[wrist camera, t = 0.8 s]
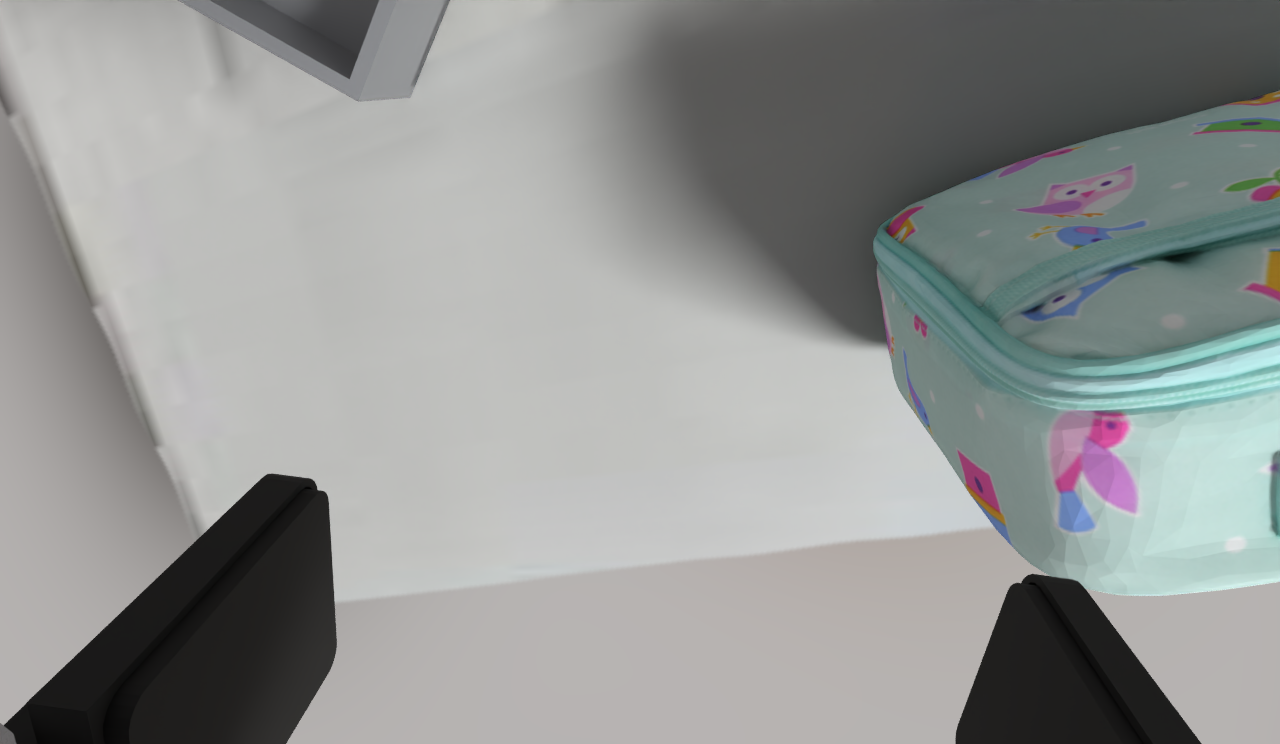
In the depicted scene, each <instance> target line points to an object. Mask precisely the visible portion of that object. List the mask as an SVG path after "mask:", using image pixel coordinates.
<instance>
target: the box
mask: <svg viewBox="0 0 1280 744" xmlns="http://www.w3.org/2000/svg"><path fill="white" fill-rule="evenodd" d="M178 1H180V2H182V3H184V4H185V5H187V6H189V7H191V8H193V9H194V10H196V11H198V12H200V13H202V14H203V15H205V16H207V17H209V18H210V19H212V20H214V21H216V22H218V23H219V24H221V25H223V26H225V27H226V28H228V29H230V30H232V31H234V32H235V33H237V34H239V35H241V36H242V37H244V38H246V39H248V40H250V41H251V42H253V43H255V44H257V45H258V46H260V47H262V48H264V49H266V50H267V51H269V52H271V53H273V54H274V55H276V56H278V57H280V58H282V59H283V60H285V61H287V62H289V63H290V64H292V65H294V66H296V67H298V68H299V69H301V70H303V71H305V72H306V73H308V74H310V75H312V76H314V77H315V78H317V79H319V80H321V81H323V82H324V83H326V84H328V85H330V86H331V87H333V88H335V89H337V90H339V91H340V92H342V93H344V94H346V95H347V96H349V97H351V98H353V99H355V100H356V101H358V102H359V101H372V100H385V99H398V98H410V97H411V94H412V92H413V89H414V87H415V84H416V82H417V80H418V77H419V75H420V72H421V70H422V67H423V65H424V62H425V60H426V57H427V55H428V53H429V50H430V48H431V45H432V43H433V40H434V38H435V35H436V33H437V30H438V28H439V26H440V23H441V21H442V18H443V16H444V13H445V11H446V8H447V6H448V3H449V1H450V0H178Z"/></svg>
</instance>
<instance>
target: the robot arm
mask: <svg viewBox="0 0 1280 744" xmlns="http://www.w3.org/2000/svg"><path fill="white" fill-rule="evenodd" d="M336 647H337V639H336V623H335V604H334V587H333V570H332V552H331V535H330V518H329V501H328V496H327V494H326V493H325V492H324V491H318V490H317V486H316V484H315V482H314V481H313V480H312V479H309V478H302V477H294V476H286V475H279V474H267V475H266V476H264V477H263V478H262V479H261V480H259V481H258V482H257V483H256V484H255V485H254V486H253V487H252V488H251V489H250V490H249V491H248V492H247V493H246V494H245V495H244V496H243V497H242V498H241V499H240V500H239V501H237V502H236V503H235V504H234V505H233V506H232V507H231V508H230V509H229V510H228V511H227V512H226V513H225V514H224V515H223V516H222V517H221V518H220V519H219V520H218V521H217V522H215V523H214V524H213V525H212V526H211V527H210V528H209V529H208V530H207V531H206V532H205V533H204V534H203V535H202V536H201V537H200V538H199V539H198V540H197V541H196V542H194V544H192V545H191V546H190V547H189V548H188V549H187V550H186V551H185V552H184V553H183V554H182V555H181V556H180V557H179V558H178V559H177V560H176V561H175V562H174V563H173V564H171V565H170V566H169V567H168V568H167V569H166V570H165V571H164V572H163V573H162V574H161V575H160V576H159V577H158V578H157V579H156V580H155V581H154V582H153V583H152V584H150V585H149V586H148V587H147V588H146V589H145V590H144V591H143V592H142V593H141V594H140V595H139V596H138V597H137V598H136V599H135V600H134V601H133V602H132V603H131V604H130V605H129V606H127V607H126V608H125V609H124V610H123V611H122V612H121V613H120V614H119V615H118V616H117V617H116V618H115V619H114V620H113V621H112V622H111V623H110V624H109V625H108V626H106V627H105V628H104V629H103V630H102V631H101V632H100V633H99V634H98V635H97V636H96V637H95V638H94V639H93V640H92V641H91V642H90V643H89V644H88V645H87V646H86V647H85V648H84V649H82V650H81V651H80V652H79V653H78V654H77V655H76V656H75V657H74V658H73V659H72V660H71V661H70V662H69V663H68V664H67V665H66V666H65V667H63V669H61V670H60V671H59V672H58V673H57V674H56V675H55V676H54V677H53V678H52V679H51V680H50V681H49V682H48V683H47V684H46V685H45V686H44V687H43V688H41V690H39V691H38V692H37V693H36V694H35V695H34V696H33V697H32V698H31V699H30V700H29V701H28V702H27V703H26V704H25V705H24V707H22V708H21V709H20V710H19V711H18V712H17V713H16V714H15V715H14V716H13V717H12V718H11V719H10V720H9V721H8V722H7V723H6V724H5V725H4V726H3V725H2V724H1V723H0V744H286V743H287V741H288V739H289V738H290V736H291V734H292V733H293V731H294V729H295V728H296V726H297V724H298V723H299V721H300V720H301V718H302V716H303V715H304V713H305V711H306V710H307V708H308V706H309V704H310V703H311V701H312V700H313V698H314V696H315V695H316V693H317V691H318V690H319V688H320V686H321V685H322V683H323V681H324V680H325V678H326V676H327V674H328V673H329V671H330V669H331V667H332V664H333V661H334V658H335V654H336ZM956 744H1201V743H1200V741H1199V740H1198V738H1197V737H1196V736H1195V734H1194V733H1193V732H1192V730H1191V729H1190V728H1189V727H1188V725H1187V724H1186V723H1185V721H1184V720H1183V718H1182V717H1181V716H1180V715H1179V713H1178V712H1177V711H1176V709H1175V708H1174V707H1173V705H1172V704H1171V703H1170V701H1169V700H1168V699H1167V698H1166V696H1165V695H1164V693H1163V692H1162V691H1161V689H1160V688H1159V687H1158V685H1157V684H1156V683H1155V681H1154V680H1153V679H1152V677H1151V676H1150V675H1149V674H1148V672H1147V671H1146V669H1145V668H1144V667H1143V665H1142V664H1141V663H1140V661H1139V660H1138V659H1137V657H1136V656H1135V655H1134V653H1133V652H1132V651H1131V649H1130V648H1129V647H1128V645H1127V644H1126V643H1125V641H1124V640H1123V639H1122V637H1121V636H1120V635H1119V633H1118V632H1117V631H1116V629H1115V628H1114V627H1113V625H1112V624H1111V623H1110V621H1109V620H1108V619H1107V617H1106V616H1105V615H1104V613H1103V612H1102V611H1101V609H1100V608H1099V607H1098V605H1097V604H1096V603H1095V601H1094V600H1093V599H1092V597H1091V596H1090V595H1089V593H1088V592H1087V591H1086V589H1085V588H1084V587H1083V586H1082V585H1081V584H1080V583H1079V582H1078V581H1076V580H1073V579H1067V578H1059V577H1052V576H1044V575H1037V574H1031V575H1028V576H1026V577H1025V578H1024V579H1023V581H1022V583H1015V584H1013V585H1012V586H1011V587H1010V588H1009V590H1008V592H1007V594H1006V597H1005V600H1004V603H1003V605H1002V608H1001V611H1000V613H999V616H998V619H997V621H996V624H995V627H994V630H993V632H992V635H991V638H990V641H989V643H988V646H987V648H986V651H985V654H984V656H983V659H982V662H981V665H980V667H979V670H978V673H977V675H976V678H975V681H974V684H973V686H972V689H971V692H970V694H969V697H968V700H967V702H966V705H965V708H964V710H963V713H962V716H961V718H960V721H959V724H958V727H957V731H956Z"/></svg>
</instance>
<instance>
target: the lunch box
mask: <svg viewBox="0 0 1280 744" xmlns="http://www.w3.org/2000/svg"><path fill="white" fill-rule="evenodd" d="M873 246H874V247H873V252H874V255H875V258H876V260H877V261H878V264H877V280H878V287H879V291H880V295H881V301H882V309H883V317H884V323H885V330H886V337H887V344H888V349H889V354H890V358H891V362H892V369H893V374H894V378H895V381H896V384H897V386H898V389H899V391H900V392H901V394H902V396H903V397H904V399H905V400H906V402H907V403H908V405H909V406H910V407H911V409H912V410H913V411H914V413H915V414H916V416H917V417H918V418H919V420H920V421H921V423H922V424H923V426H924V427H925V428H926V430H927V431H928V433H929V434H930V435H931V437H932V438H933V440H934V441H935V442H936V444H937V445H938V446H939V448H940V449H941V451H942V452H943V454H944V455H945V457H946V458H947V460H948V461H949V463H950V464H951V466H952V467H953V469H954V470H955V472H956V473H957V475H958V477H959V478H960V480H961V481H962V483H963V484H964V486H965V487H966V489H967V490H968V492H969V493H970V495H971V496H972V497H973V499H974V500H975V501H976V503H977V504H978V505H979V507H980V508H981V509H982V511H983V512H984V513H985V515H986V516H987V517H988V519H989V520H990V522H991V523H992V524H993V526H994V527H995V528H996V529H997V531H998V532H999V533H1000V534H1001V535H1002V536H1003V537H1004V538H1005V539H1006V540H1007V541H1008V543H1009V544H1010V545H1011V546H1012V547H1013V548H1014V549H1015V550H1016V551H1017V552H1018V553H1019V554H1020V555H1021V556H1022V557H1023V558H1025V559H1026V560H1027V561H1028V562H1029V563H1030V564H1032V565H1033V566H1035V567H1036V568H1038V569H1039V570H1041V571H1043V572H1044V573H1046V574H1048V575H1050V576H1052V577H1059V578H1067V579H1073V580H1076V581H1078V582H1079V583H1080V584H1081V585H1082V586H1083V587H1084V588H1085V589H1089V590H1095V591H1100V592H1104V593H1109V594H1114V595H1131V596H1164V595H1176V594H1186V593H1196V592H1206V591H1217V590H1225V589H1233V588H1240V587H1248V586H1254V585H1261V584H1268V583H1275V582H1280V91H1276V92H1273V93H1269V94H1266V95H1262V96H1259V97H1256V98H1253V99H1250V100H1246V101H1240V102H1234V103H1230V104H1226V105H1222V106H1218V107H1215V108H1211V109H1208V110H1204V111H1201V112H1197V113H1193V114H1190V115H1186V116H1183V117H1179V118H1176V119H1173V120H1169V121H1166V122H1162V123H1157V124H1152V125H1147V126H1142V127H1137V128H1133V129H1129V130H1124V131H1120V132H1116V133H1112V134H1108V135H1104V136H1101V137H1097V138H1094V139H1090V140H1087V141H1084V142H1080V143H1077V144H1073V145H1070V146H1067V147H1063V148H1060V149H1057V150H1054V151H1051V152H1048V153H1044V154H1041V155H1038V156H1035V157H1032V158H1028V159H1025V160H1022V161H1019V162H1016V163H1013V164H1011V165H1008V166H1005V167H1002V168H999V169H996V170H994V171H991V172H988V173H986V174H983V175H981V176H978V177H976V178H973V179H971V180H968V181H966V182H963V183H961V184H959V185H956V186H954V187H952V188H950V189H947V190H945V191H943V192H940V193H938V194H935V195H933V196H931V197H928V198H926V199H924V200H921V201H918V202H915V203H913V204H911V205H909V206H907V207H906V208H904V209H903V210H902V211H900V212H899V213H898V214H896V215H895V216H893V217H891V218H890V219H888V220H887V221H885V222H884V223H883V224H881V225H880V227H879V228H878V230H877V235H876V236H875V238H874V240H873Z"/></svg>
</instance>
